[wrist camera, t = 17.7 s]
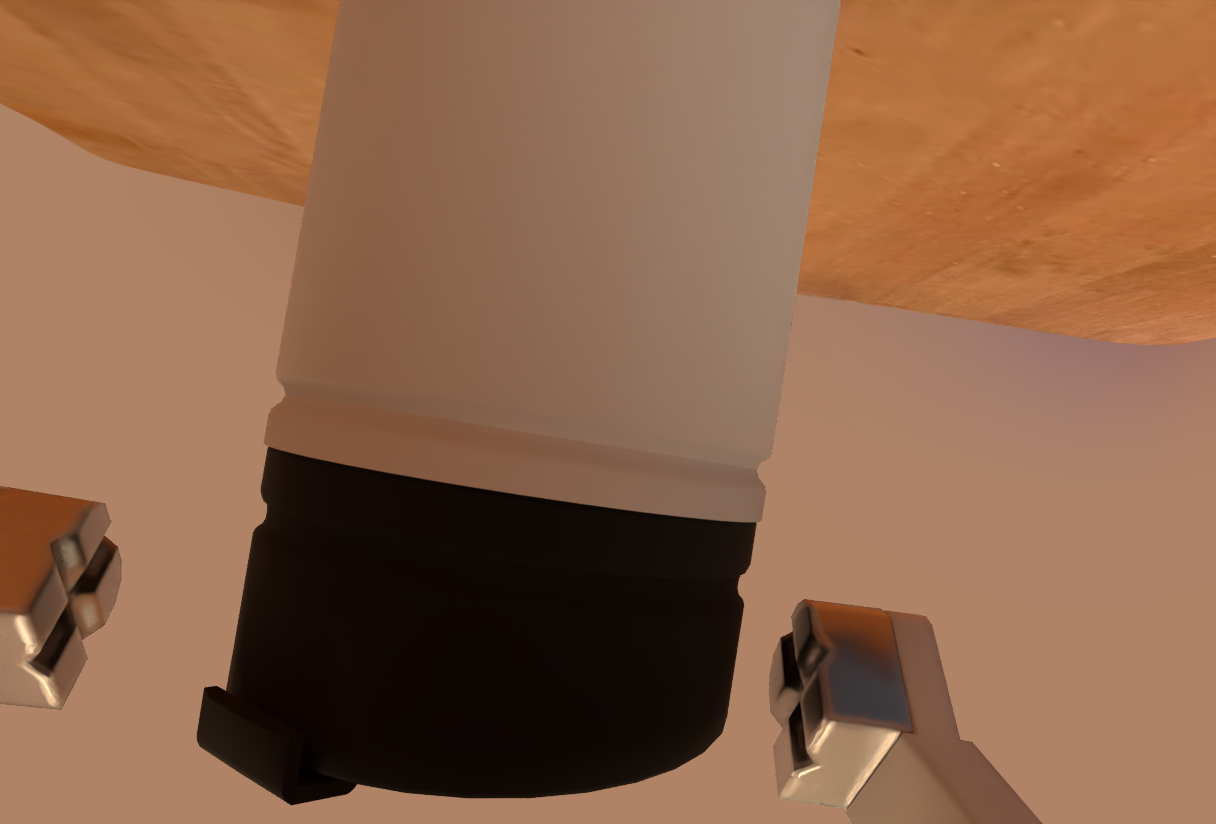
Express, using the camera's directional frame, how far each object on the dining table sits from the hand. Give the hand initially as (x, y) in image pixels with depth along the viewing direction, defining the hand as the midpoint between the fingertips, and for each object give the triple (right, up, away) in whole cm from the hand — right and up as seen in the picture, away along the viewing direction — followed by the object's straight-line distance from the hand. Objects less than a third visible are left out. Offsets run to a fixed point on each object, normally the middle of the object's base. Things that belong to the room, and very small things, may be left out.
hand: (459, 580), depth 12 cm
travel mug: (+3, +18, +1) cm, 18 cm away
